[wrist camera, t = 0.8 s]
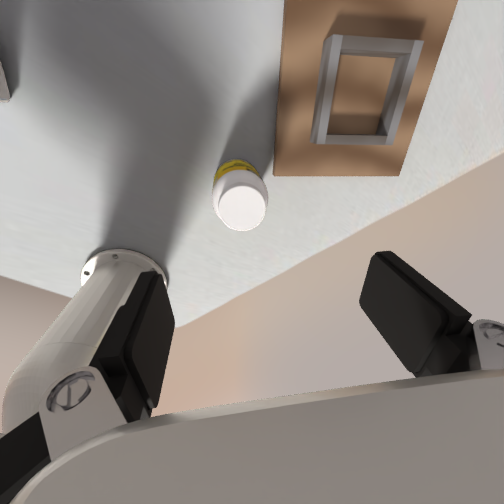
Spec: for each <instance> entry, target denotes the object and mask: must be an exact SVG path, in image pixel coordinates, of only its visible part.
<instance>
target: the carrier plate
mask: <svg viewBox="0 0 504 504" xmlns="http://www.w3.org/2000/svg"><path fill="white" fill-rule="evenodd" d="M457 2H458V0H284V15H283V29H282V44H281V59H280V74H279V88H278V103H277V118H276V133H275V147H274V162H273V175H274V176H399V174H400V171H401V168H402V165H403V162H404V159H405V156H406V153H407V150H408V147H409V144H410V142H411V139H412V136H413V133H414V130H415V127H416V124H417V121H418V118H419V115H420V112H421V109H422V106H423V103H424V100H425V97H426V94H427V91H428V88H429V85H430V82H431V79H432V76H433V73H434V70H435V67H436V64H437V61H438V58H439V55H440V52H441V49H442V46H443V43H444V41H445V38H446V35H447V32H448V29H449V26H450V23H451V20H452V17H453V14H454V11H455V8H456V5H457Z"/></svg>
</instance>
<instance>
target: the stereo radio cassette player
mask: <svg viewBox="0 0 504 504" xmlns="http://www.w3.org/2000/svg"><path fill="white" fill-rule="evenodd" d="M9 99H10V94H9V90H8V86H7V82H6V78H5V74H4V71H3V68H2V65H1V62H0V102H9V101H10V100H9Z"/></svg>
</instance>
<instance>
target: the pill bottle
mask: <svg viewBox="0 0 504 504" xmlns="http://www.w3.org/2000/svg"><path fill="white" fill-rule="evenodd" d="M212 204H213V208H214V210H215V212H216V214H217V215H218V216H219V217H220V218H221V220H222V221H223V223H224V224H225V225H226V226H228V227H229V228H231V229H233V230H237V231H247V230H250V229H253V228H254V227H256V226H257V225H259V224H260V222H261V221H262V220H263V218H264V216H265V212H266V207H267V204H268V192H267V188H266V186H265V184H264V182H263V180H262V179H261V177H260V175H259V174H258V172H257V171H256V169H255V168H254V167H253V166H252V165H251V164H250V163H249V162H247V161H245V160H241V159H231V160H228V161H226V162H224V163H223V164H222V165H221V166H220V167H219V168H218V170H217V171H216V174H215V177H214V183H213V190H212Z"/></svg>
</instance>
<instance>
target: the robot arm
mask: <svg viewBox="0 0 504 504" xmlns="http://www.w3.org/2000/svg"><path fill="white" fill-rule="evenodd" d="M80 279H81V285H82V287H81V288H80V290H79V291H78V292H77V293H76V295H75V296H74V297H73V298H72V300H71V301H70V302H69V304H68V305H67V306H66V307H65V308H64V310H63V311H62V312H61V313H60V315H59V316H58V317H57V318H56V320H55V321H54V322H53V323H52V325H51V326H50V327H49V328H48V329H47V331H46V332H45V333H44V334H43V336H42V337H41V338H40V339H39V341H38V342H37V343H36V344H35V346H34V347H33V348H32V349H31V351H30V352H29V353H28V354H27V355H26V356H25V358H24V359H23V360H22V362H21V363H20V364H19V365H18V367H17V368H16V369H15V371H14V372H13V374H12V376H11V378H10V380H9V382H8V384H7V387H6V390H5V393H4V398H3V405H2V430H3V434H2V433H0V504H504V324H502V323H499V322H496V321H492V320H485V319H481V320H477V321H476V322H474V323H473V324H472V323H470V322H469V321H468V320H469V319H470V317H471V316H472V314H471V313H469V312H468V311H467V310H466V309H464V308H463V307H462V306H460V305H459V304H458V303H457V302H455V301H454V300H453V299H451V298H450V297H449V296H448V295H447V294H445V293H444V292H443V291H441V290H440V289H439V288H438V287H436V286H435V285H434V284H432V283H431V282H430V281H429V280H427V279H426V278H425V277H424V276H422V275H421V274H420V273H418V272H417V271H416V270H415V269H413V268H412V267H411V266H410V265H408V264H407V263H406V262H405V261H403V260H402V259H401V258H399V257H398V256H397V255H396V254H394V253H393V252H391V251H382V252H376V253H375V255H373V256H372V258H371V260H370V264H369V267H368V271H367V275H366V278H365V281H364V285H363V289H362V292H361V296H360V300H359V303H360V306H361V308H362V309H363V311H364V312H365V313H366V315H367V316H368V317H369V319H370V320H371V322H372V323H373V324H374V326H375V327H376V328H377V330H378V331H379V332H380V334H381V335H382V336H383V338H384V339H385V340H386V342H387V343H388V344H389V346H390V347H391V349H392V350H393V351H394V353H395V354H396V355H397V357H398V358H399V359H400V361H401V362H402V364H403V365H404V366H405V368H406V369H407V370H408V371H409V372H412V373H413V374H414V376H415V377H416V378H411V379H404V380H396V381H389V382H382V383H374V384H367V385H359V386H352V387H345V388H338V389H331V390H324V391H316V392H309V393H303V394H295V395H288V396H282V397H275V398H268V399H261V400H254V401H247V402H240V403H233V404H227V405H220V406H213V407H207V408H201V409H195V410H189V411H182V412H177V413H170V414H165V415H160V416H155V417H151V413H152V408H156V407H157V405H158V402H159V397H160V393H161V388H162V383H163V379H164V374H165V369H166V365H167V360H168V355H169V350H170V346H171V341H172V336H173V332H174V327H175V320H174V316H173V312H172V309H171V305H170V301H169V297H168V294H167V280H166V276H165V274H164V272H163V271H162V269H161V268H160V266H159V265H157V264H156V263H155V262H154V261H153V260H152V259H150V258H149V257H147V256H145V255H143V254H141V253H138V252H135V251H132V250H126V249H111V250H105V251H102V252H99V253H97V254H96V255H94V256H92V257H91V258H90V259H89V260H88V261H87V263H86V264H85V265H84V266H83V268H82V271H81V277H80ZM150 417H151V418H150Z"/></svg>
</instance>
